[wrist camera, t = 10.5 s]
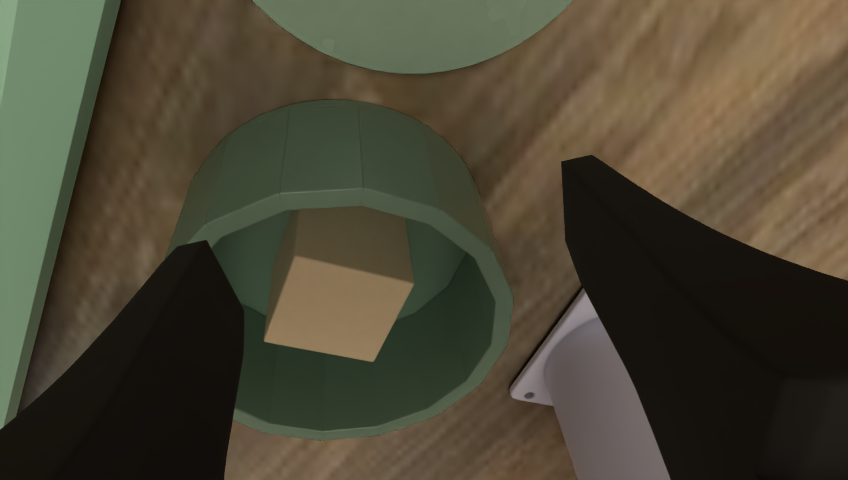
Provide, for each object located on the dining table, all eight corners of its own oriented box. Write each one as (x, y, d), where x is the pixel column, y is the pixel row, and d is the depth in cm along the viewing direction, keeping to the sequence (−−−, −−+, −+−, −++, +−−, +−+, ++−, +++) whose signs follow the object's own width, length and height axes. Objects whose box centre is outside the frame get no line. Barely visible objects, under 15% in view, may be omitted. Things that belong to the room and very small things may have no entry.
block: (404, 212, 23) (415, 284, 20) (369, 287, 25) (374, 362, 22) (300, 184, 22) (294, 255, 19) (272, 266, 24) (262, 342, 21)
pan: (531, 154, 23) (576, 247, 18) (417, 351, 29) (431, 456, 24) (221, 52, 19) (187, 139, 15) (165, 302, 25) (130, 414, 21)
